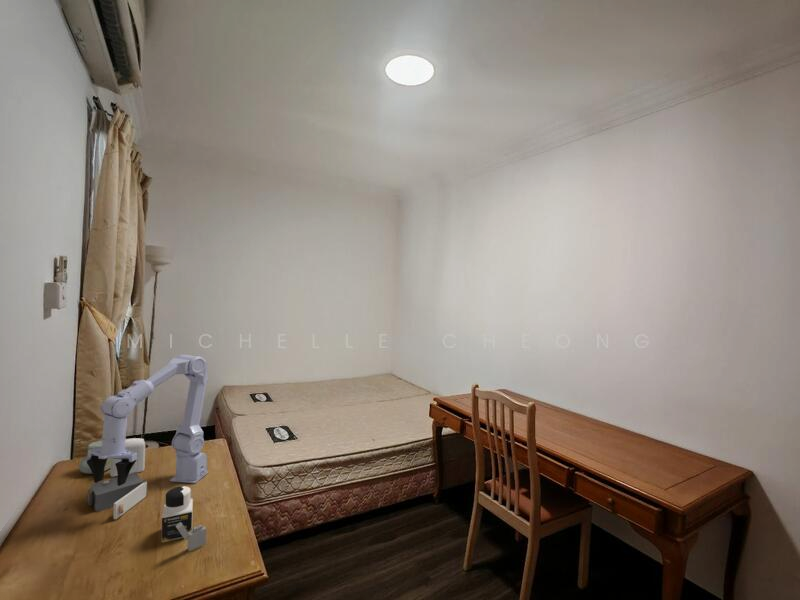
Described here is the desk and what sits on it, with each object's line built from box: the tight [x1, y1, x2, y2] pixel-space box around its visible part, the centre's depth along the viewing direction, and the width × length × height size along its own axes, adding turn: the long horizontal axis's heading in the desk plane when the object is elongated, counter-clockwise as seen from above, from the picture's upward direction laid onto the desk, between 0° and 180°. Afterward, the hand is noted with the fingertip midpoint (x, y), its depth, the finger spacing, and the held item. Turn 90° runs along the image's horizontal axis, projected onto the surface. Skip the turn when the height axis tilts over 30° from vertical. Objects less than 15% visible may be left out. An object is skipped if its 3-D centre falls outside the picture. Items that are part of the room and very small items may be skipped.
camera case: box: [87, 472, 144, 513], centre depth 121 cm, size 13×9×6 cm
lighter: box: [176, 522, 207, 552], centre depth 99 cm, size 7×2×8 cm, turn 137°
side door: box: [113, 480, 148, 520], centre depth 117 cm, size 13×2×5 cm, turn 178°
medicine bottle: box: [161, 485, 194, 543], centre depth 106 cm, size 7×7×12 cm
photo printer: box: [109, 437, 146, 478], centre depth 138 cm, size 10×4×12 cm, turn 123°
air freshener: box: [78, 440, 111, 475], centre depth 139 cm, size 11×8×10 cm
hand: (109, 482), depth 113 cm, fingers open, 7 cm apart
